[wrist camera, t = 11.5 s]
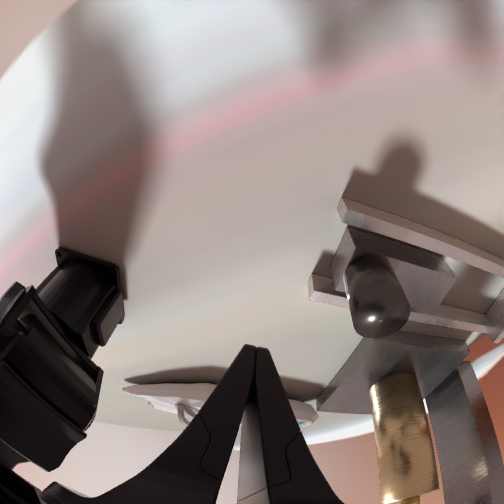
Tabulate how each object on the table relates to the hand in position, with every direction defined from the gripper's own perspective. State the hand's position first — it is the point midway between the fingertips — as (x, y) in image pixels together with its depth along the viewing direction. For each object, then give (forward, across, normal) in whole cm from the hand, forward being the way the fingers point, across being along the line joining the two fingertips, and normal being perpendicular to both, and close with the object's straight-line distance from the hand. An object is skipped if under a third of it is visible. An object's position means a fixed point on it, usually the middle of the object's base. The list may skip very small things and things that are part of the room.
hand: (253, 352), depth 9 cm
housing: (+8, -16, +12) cm, 21 cm away
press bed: (+9, -18, +12) cm, 24 cm away
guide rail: (+9, -13, 0) cm, 16 cm away
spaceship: (+10, 0, +22) cm, 24 cm away
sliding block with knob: (+9, -9, 0) cm, 13 cm away
